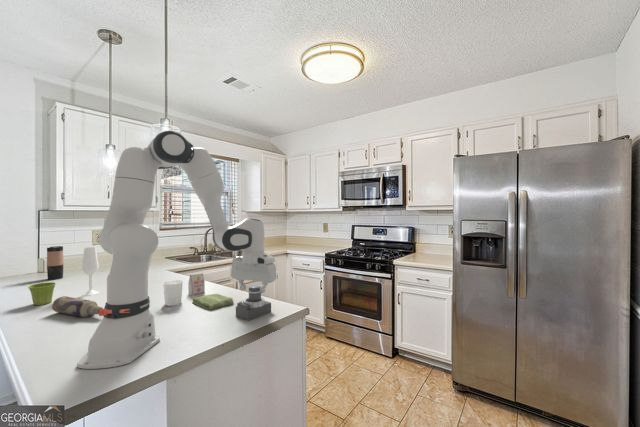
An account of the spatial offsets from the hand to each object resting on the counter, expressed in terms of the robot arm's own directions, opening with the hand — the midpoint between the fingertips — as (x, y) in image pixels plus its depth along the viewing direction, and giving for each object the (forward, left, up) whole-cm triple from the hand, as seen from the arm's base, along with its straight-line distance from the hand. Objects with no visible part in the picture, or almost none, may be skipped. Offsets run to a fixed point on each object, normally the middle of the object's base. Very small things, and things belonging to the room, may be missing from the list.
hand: (252, 291), depth 119 cm
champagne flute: (+42, +86, -10) cm, 96 cm away
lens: (0, -1, -6) cm, 6 cm away
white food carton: (+35, +32, -10) cm, 48 cm away
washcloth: (+18, +20, -10) cm, 29 cm away
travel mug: (+81, +129, -10) cm, 153 cm away
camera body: (0, 0, -10) cm, 10 cm away
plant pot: (+28, +98, -10) cm, 102 cm away
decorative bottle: (+9, +71, -10) cm, 72 cm away
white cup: (+19, +38, -10) cm, 43 cm away
